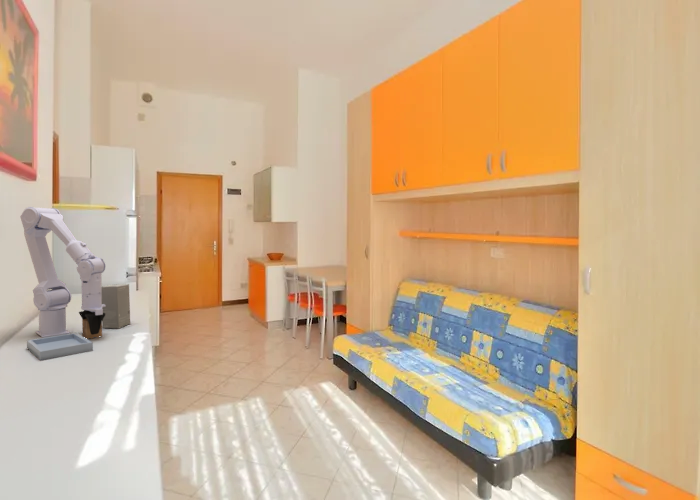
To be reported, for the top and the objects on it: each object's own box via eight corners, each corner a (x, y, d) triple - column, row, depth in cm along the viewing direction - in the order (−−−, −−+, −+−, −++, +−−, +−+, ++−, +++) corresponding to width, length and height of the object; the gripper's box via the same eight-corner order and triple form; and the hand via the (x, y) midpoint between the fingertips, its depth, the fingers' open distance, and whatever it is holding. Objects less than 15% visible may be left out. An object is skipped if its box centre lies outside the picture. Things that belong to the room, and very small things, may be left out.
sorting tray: (26, 348, 123) (26, 340, 123) (76, 340, 133) (76, 332, 133) (40, 360, 113) (40, 351, 113) (92, 350, 123) (92, 342, 123)
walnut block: (82, 336, 137) (82, 319, 137) (97, 334, 141) (97, 317, 141) (87, 339, 135) (86, 321, 134) (102, 336, 138) (101, 319, 138)
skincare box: (118, 329, 148) (118, 286, 147) (99, 328, 148) (99, 286, 148) (131, 323, 157) (131, 283, 156) (113, 323, 157) (113, 283, 156)
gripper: (112, 294, 135) (113, 334, 136) (97, 289, 145) (97, 326, 145) (88, 297, 130) (89, 338, 131) (74, 291, 139) (75, 330, 140)
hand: (92, 332), depth 138 cm, fingers closed on walnut block, 4 cm apart
